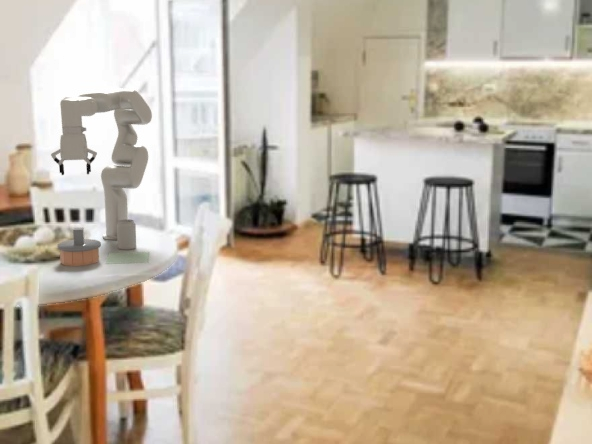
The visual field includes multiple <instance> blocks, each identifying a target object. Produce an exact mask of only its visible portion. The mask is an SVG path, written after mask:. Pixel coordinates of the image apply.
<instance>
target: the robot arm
mask: <svg viewBox="0 0 592 444" xmlns="http://www.w3.org/2000/svg"><path fill="white" fill-rule="evenodd" d="M59 105H60V115H61V116H60V117H61V128H62V129H61V130H62V133H61V134H60V138H59V139H60V142H59V147H60V148H59V149H57V150H55V151H54V152H52V153H51V154H50V156H51V158H52V159H53V161H54V162H56V164H57V165H58V167H59V174H60V175H61V176H64V175H65V166H64V162H65V161H82V160H84V162H86V164H85V165H86V174H87V175H90V173H91V172H92V168H91V163H93V162H94V161H95V159H96V158H97V155H98V152H96V151H94V150H92V149H91V148H88V141H87V138H86V137H87V136H86V134H85V133H84V132H87V127H84V126H83V119H82V117H91V116H94V115H95V114H97V113H99V114H101V113H106V112H107V113H108V112H111V111H113V117H114V120H115V123H116V127H117V130H118V131H117V137H116V141H115V144H114V146H113V150H112V153H111V162H112V163H113V164H115V165H107V166H105V167H103V169H102V170H101V173H100V177H101V179H100V181H101V183H102V188H103V195H104V196H103V197H104V213H105V215H104V216H105V233H103V234H102V238H103V239H104V240H110V241H118V240H117V224H118V223H119V222H118V221H119V220H125V219H129V218H128V217H129V216H128V215H129V214H128V213H129V212H128V196H127V193H126V192H125V190H124V189H130V190H133V189H138V188H139V187H140V186H141V183H142V181H143V178H144V175H145V173H146V168H147V165H148V161H149V152H148V149H147V147H145V146H143V145H140V144H137V142H138V134H137V131H136V130H135V129H134V127H133V125H138V126H140V125H141V126H143V125H148V124H149V123H151V121H152V117H153V113H152V109H151V108H150V106H149V105H148V103H147V102H146V100H145V99H144V98H143V96H142V95H141V94H140V93H139V92H138V91H137V90H135V89H131V88H129V89H126V88H124V89H123V88H114V89H109V90H103V91H97V92H90V93H81V94H80V93H79V94H73V95H67V96H65V97H63V99H61V101H60V104H59ZM89 154H91V155H92V156H91V158H89ZM57 155H60V159H59V158H57Z"/></svg>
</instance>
